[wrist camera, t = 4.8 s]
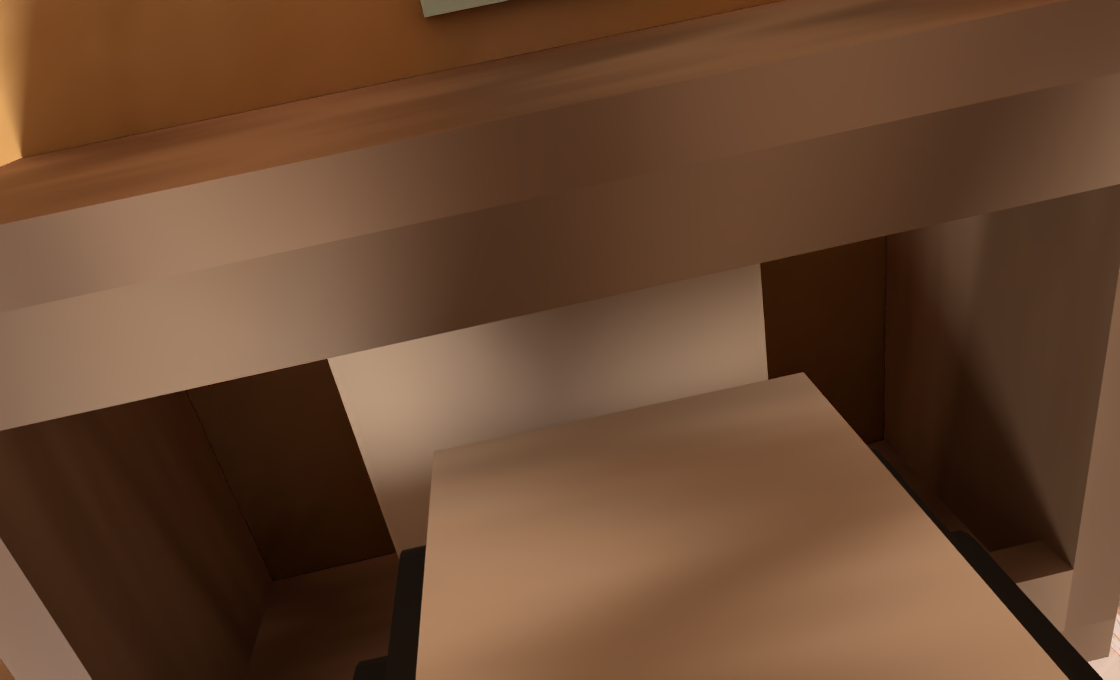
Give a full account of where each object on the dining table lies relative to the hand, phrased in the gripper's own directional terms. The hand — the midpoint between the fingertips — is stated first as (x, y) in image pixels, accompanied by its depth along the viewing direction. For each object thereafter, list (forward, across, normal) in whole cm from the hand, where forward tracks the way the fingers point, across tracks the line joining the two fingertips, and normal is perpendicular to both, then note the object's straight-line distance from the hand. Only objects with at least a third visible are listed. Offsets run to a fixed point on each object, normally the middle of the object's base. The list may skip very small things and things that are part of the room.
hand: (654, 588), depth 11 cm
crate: (+8, +1, 0) cm, 8 cm away
